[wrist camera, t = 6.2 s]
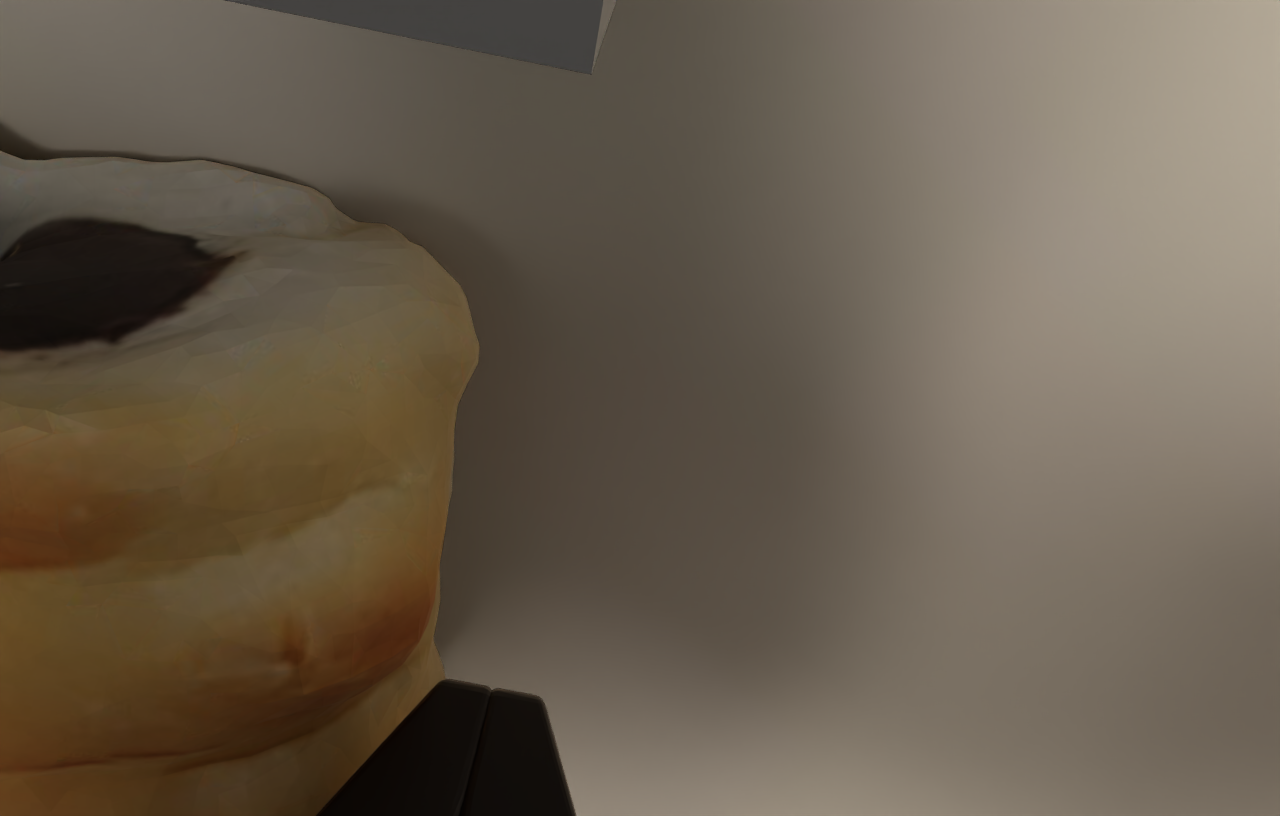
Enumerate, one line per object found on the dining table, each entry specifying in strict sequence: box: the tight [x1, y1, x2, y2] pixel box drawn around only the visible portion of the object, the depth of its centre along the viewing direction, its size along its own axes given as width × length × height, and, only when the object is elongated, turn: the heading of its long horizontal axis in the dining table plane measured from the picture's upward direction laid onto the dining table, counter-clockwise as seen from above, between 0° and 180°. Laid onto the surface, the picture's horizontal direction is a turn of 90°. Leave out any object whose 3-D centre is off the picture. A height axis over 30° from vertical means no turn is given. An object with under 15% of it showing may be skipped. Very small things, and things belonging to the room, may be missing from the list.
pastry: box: [0, 151, 480, 816], centre depth 10 cm, size 9×7×4 cm
